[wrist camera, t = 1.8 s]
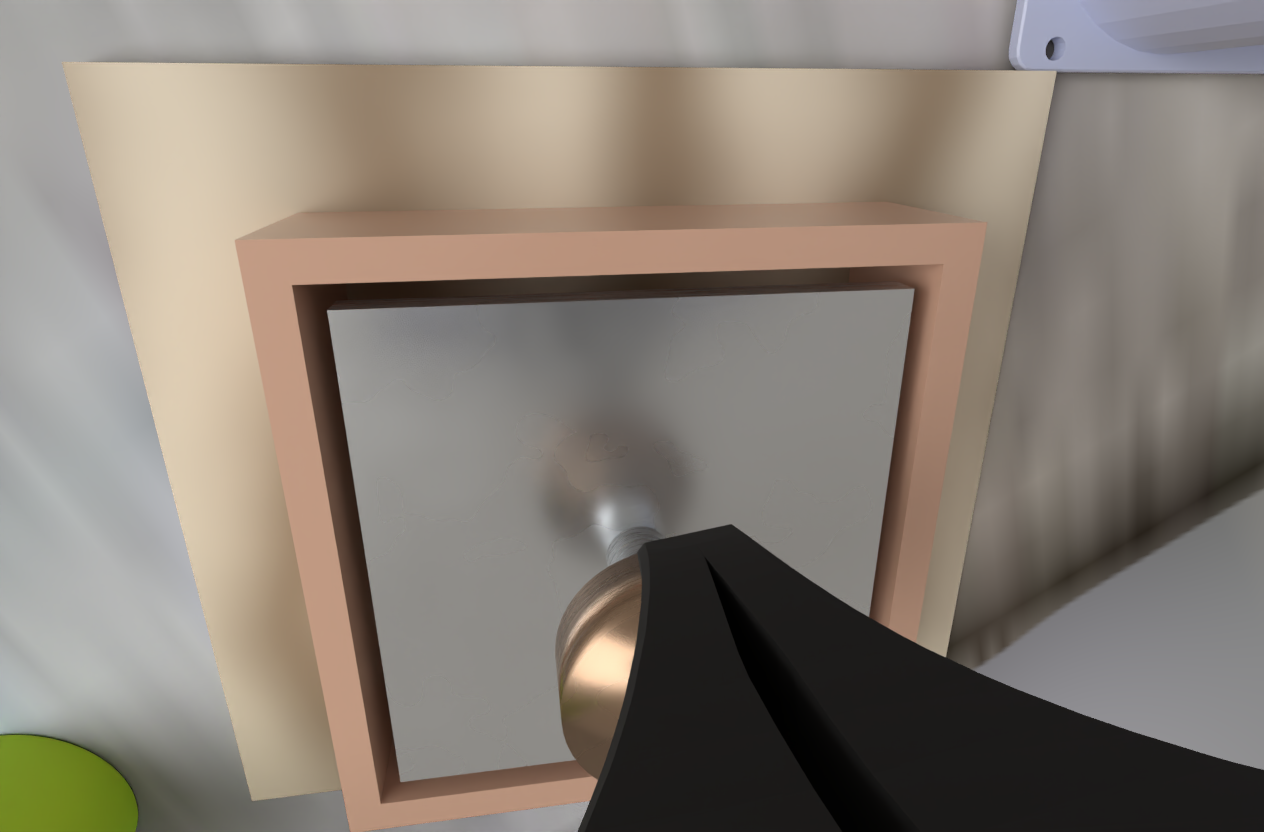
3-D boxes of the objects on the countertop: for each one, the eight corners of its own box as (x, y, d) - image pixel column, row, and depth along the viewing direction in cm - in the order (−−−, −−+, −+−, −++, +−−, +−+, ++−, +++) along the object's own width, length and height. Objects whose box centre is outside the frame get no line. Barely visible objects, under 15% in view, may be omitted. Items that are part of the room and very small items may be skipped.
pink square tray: (887, 201, 19) (987, 222, 15) (832, 655, 24) (896, 759, 20) (297, 212, 17) (234, 240, 13) (377, 706, 22) (350, 833, 18)
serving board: (1035, 72, 19) (1056, 71, 18) (922, 697, 26) (935, 714, 25) (82, 64, 16) (61, 61, 15) (259, 779, 23) (252, 801, 22)
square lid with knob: (895, 280, 16) (1074, 353, 11) (841, 702, 20) (952, 893, 15) (336, 300, 14) (244, 396, 9) (404, 755, 18) (367, 990, 13)
